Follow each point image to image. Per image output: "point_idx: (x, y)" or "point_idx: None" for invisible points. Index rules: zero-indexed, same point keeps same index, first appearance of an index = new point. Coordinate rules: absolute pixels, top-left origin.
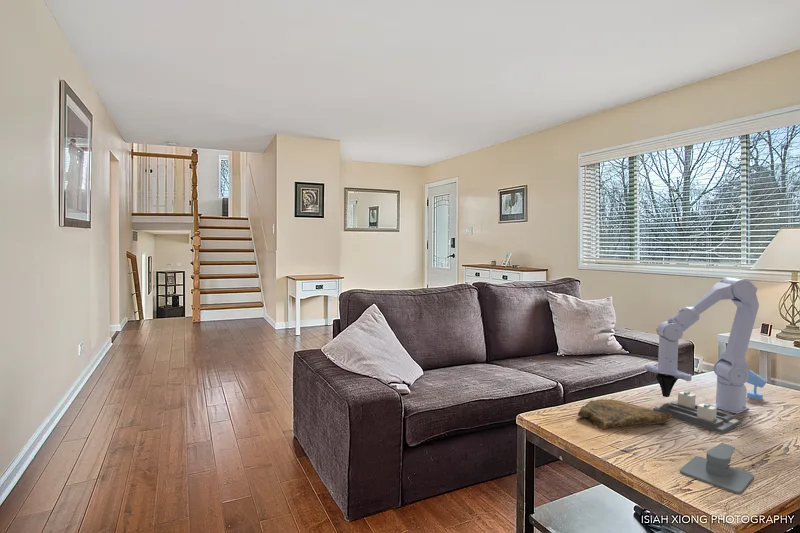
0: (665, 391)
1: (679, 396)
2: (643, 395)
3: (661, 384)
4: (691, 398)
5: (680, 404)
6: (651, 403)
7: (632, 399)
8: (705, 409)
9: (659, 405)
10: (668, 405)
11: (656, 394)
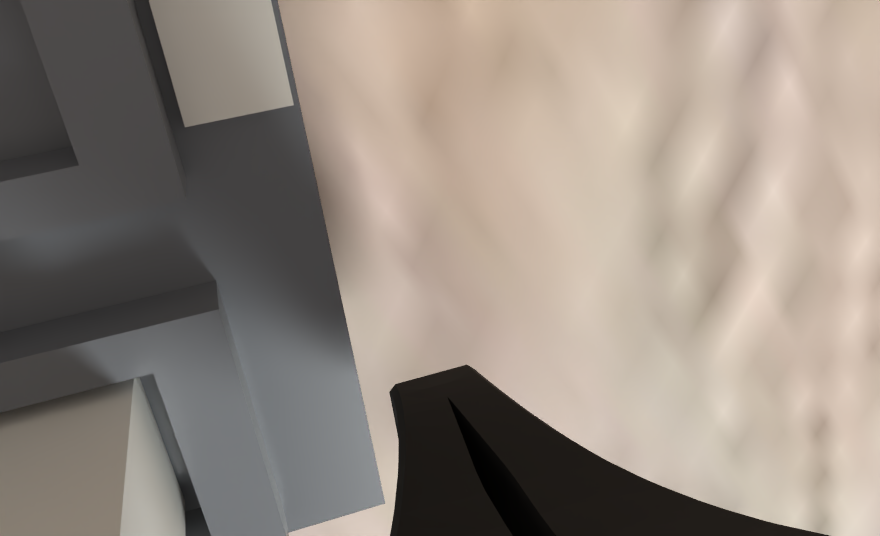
0: (434, 436)
1: (81, 516)
2: (798, 334)
3: (589, 495)
4: None
5: (69, 408)
6: (546, 161)
7: (819, 6)
8: None
9: (273, 25)
10: (80, 101)
11: None
